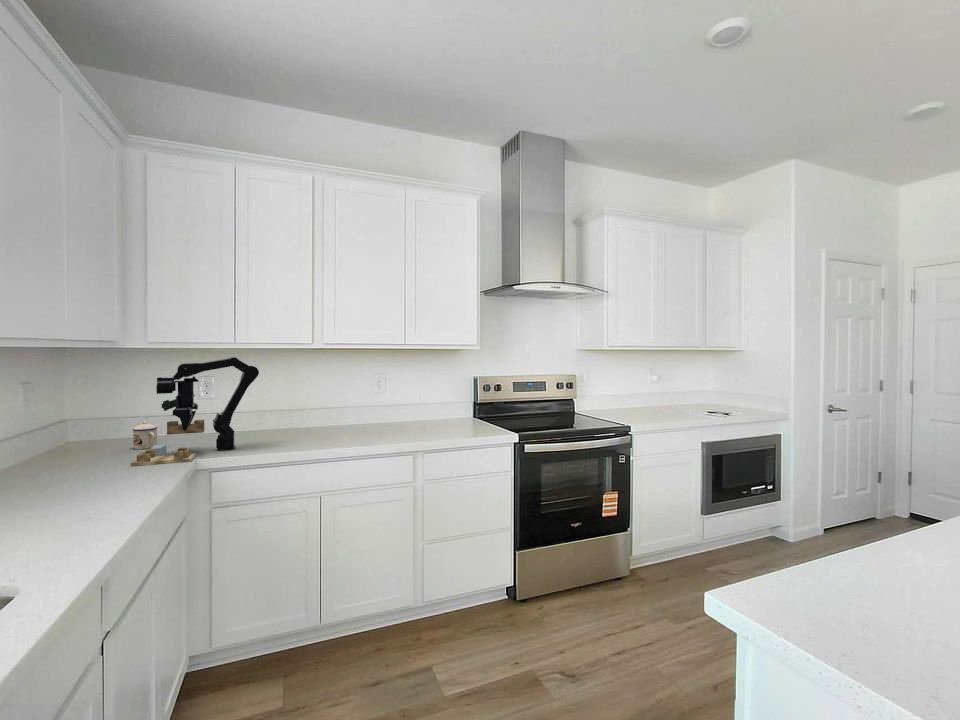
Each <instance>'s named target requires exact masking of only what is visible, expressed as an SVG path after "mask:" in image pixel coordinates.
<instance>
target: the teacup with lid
mask: <svg viewBox="0 0 960 720" xmlns="http://www.w3.org/2000/svg"><path fill="white" fill-rule="evenodd" d="M132 434H133V435H132V437H133V449H134V450H150V449H151V448H152V447H153V446H155V445H158V426H157V425H155V424H152V423H149V422H148V420H147V421H145V420H144V421H142V423H141V424H139V425H137V426H133V428H132Z"/></svg>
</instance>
